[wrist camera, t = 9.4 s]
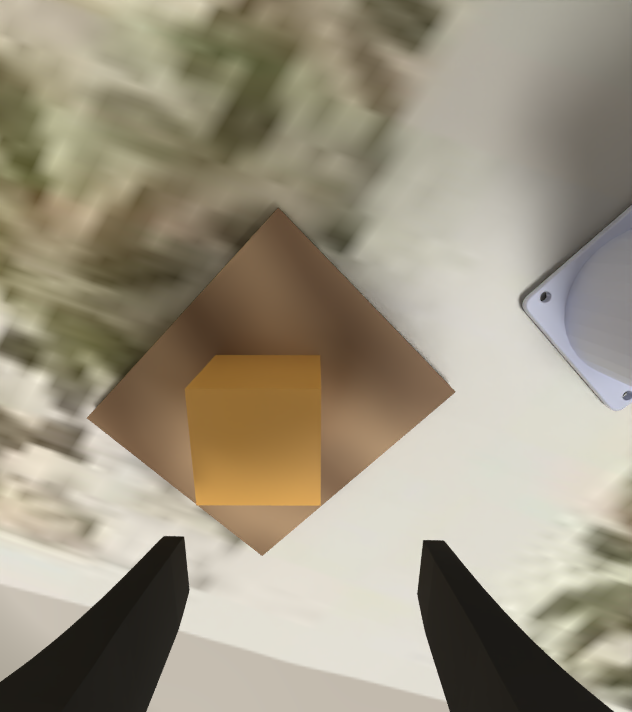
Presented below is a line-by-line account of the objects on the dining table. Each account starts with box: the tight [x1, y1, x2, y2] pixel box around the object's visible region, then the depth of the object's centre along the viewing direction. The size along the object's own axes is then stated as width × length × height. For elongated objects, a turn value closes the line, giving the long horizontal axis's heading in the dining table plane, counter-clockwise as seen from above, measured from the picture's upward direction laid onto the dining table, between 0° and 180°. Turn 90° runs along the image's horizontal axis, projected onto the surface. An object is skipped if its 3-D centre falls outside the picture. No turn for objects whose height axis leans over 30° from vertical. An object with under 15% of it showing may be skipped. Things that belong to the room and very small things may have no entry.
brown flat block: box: [87, 208, 455, 556], centre depth 18 cm, size 14×12×4 cm
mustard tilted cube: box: [185, 355, 321, 506], centre depth 17 cm, size 5×5×4 cm
